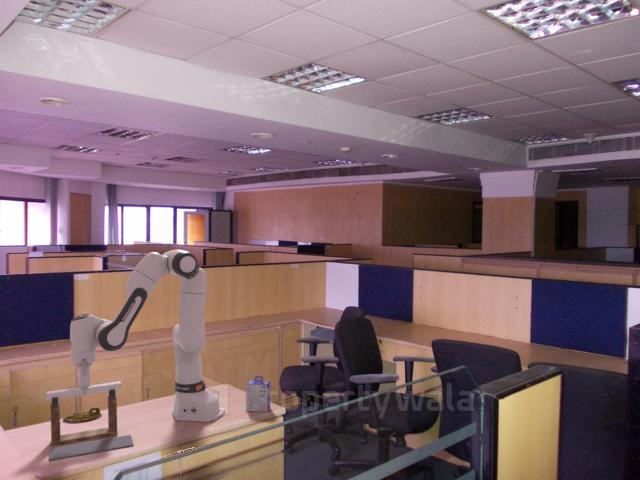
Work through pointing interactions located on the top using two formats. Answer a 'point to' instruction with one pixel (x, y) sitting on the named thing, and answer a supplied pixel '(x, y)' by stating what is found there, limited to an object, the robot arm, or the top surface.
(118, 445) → the mat
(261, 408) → the ink cartridge box
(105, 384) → the rail
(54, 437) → the hook stand
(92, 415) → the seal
